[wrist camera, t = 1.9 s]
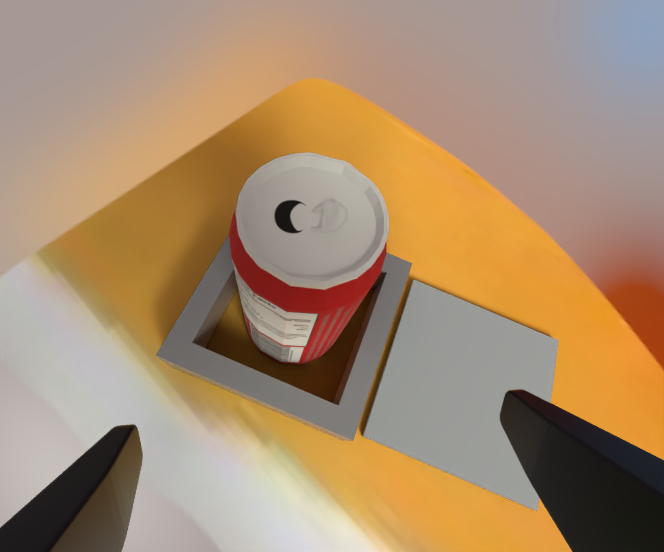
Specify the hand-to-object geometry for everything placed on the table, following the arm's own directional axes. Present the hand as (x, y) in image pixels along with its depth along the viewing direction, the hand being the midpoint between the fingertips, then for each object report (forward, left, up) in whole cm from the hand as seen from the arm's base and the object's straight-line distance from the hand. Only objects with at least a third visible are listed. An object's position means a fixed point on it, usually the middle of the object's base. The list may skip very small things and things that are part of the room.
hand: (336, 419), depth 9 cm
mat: (+6, -8, -12) cm, 16 cm away
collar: (+6, +3, -12) cm, 14 cm away
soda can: (+5, +3, -12) cm, 14 cm away
